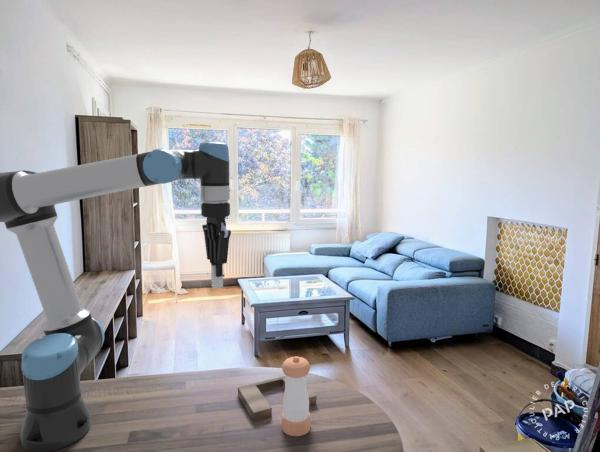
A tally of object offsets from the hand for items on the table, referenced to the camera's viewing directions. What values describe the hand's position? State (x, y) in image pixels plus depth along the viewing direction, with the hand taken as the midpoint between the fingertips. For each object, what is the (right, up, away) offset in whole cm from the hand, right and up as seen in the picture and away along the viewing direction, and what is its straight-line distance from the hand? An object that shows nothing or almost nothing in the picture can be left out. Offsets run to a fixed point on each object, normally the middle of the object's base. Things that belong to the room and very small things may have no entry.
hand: (217, 286), depth 116 cm
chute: (+16, -33, +3) cm, 37 cm away
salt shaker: (+22, -35, -9) cm, 42 cm away
